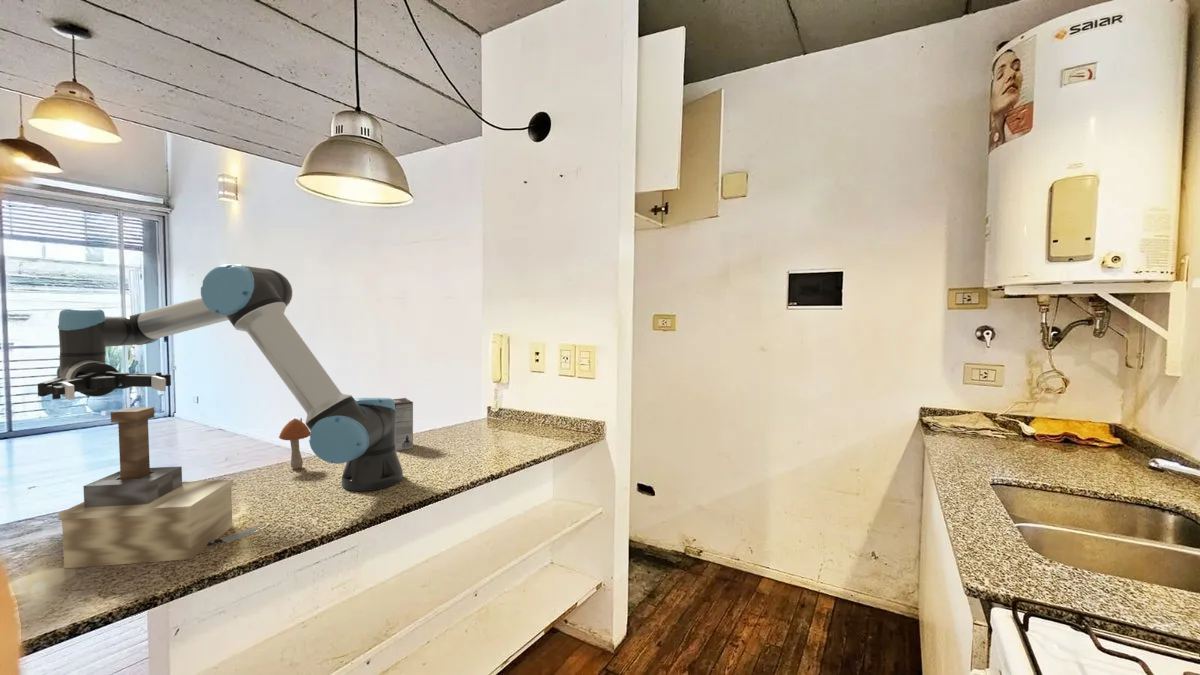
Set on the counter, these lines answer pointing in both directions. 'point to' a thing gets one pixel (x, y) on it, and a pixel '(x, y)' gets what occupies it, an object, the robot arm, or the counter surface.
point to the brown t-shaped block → (133, 441)
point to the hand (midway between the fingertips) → (120, 388)
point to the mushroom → (295, 439)
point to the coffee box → (403, 424)
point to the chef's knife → (234, 536)
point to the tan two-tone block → (145, 519)
